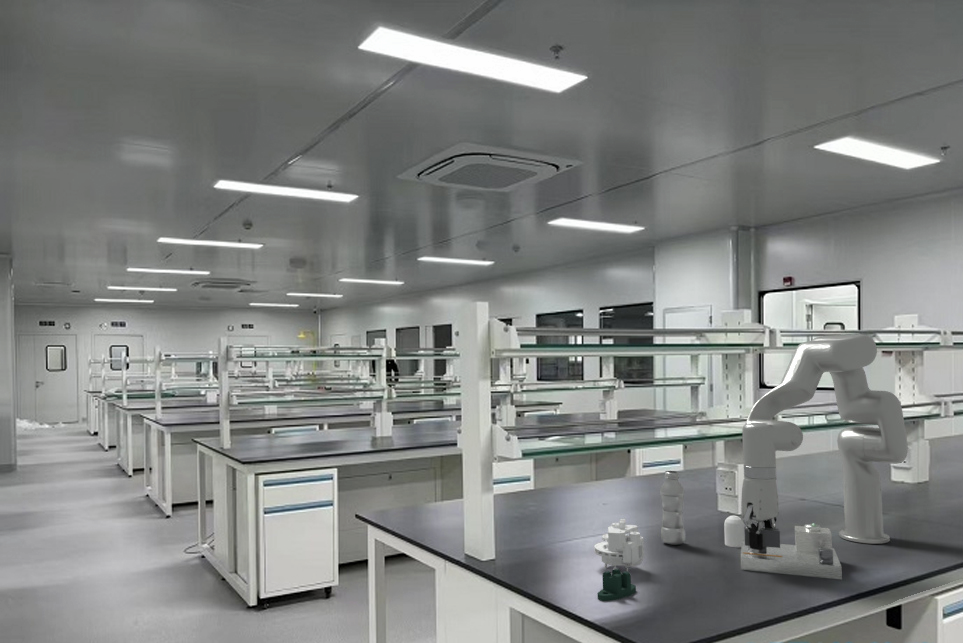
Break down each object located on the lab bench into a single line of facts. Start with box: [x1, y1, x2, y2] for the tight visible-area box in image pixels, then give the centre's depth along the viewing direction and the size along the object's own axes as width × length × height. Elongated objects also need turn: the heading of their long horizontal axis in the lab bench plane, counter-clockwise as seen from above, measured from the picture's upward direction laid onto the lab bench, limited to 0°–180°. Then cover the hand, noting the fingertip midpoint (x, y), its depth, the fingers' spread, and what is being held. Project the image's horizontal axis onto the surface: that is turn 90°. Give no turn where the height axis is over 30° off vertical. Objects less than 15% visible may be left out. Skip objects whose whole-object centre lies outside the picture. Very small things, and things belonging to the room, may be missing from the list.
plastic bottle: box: [659, 470, 687, 546], centre depth 190 cm, size 6×7×20 cm
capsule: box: [723, 515, 746, 548], centre depth 188 cm, size 5×5×8 cm
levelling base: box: [740, 522, 843, 580], centre depth 169 cm, size 16×22×10 cm
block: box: [744, 526, 781, 554], centre depth 168 cm, size 8×3×6 cm, turn 72°
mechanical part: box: [593, 518, 645, 572], centre depth 167 cm, size 11×12×12 cm
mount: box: [596, 568, 637, 602], centre depth 149 cm, size 11×4×5 cm, turn 126°
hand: (762, 546), depth 168 cm, fingers closed on block, 4 cm apart
